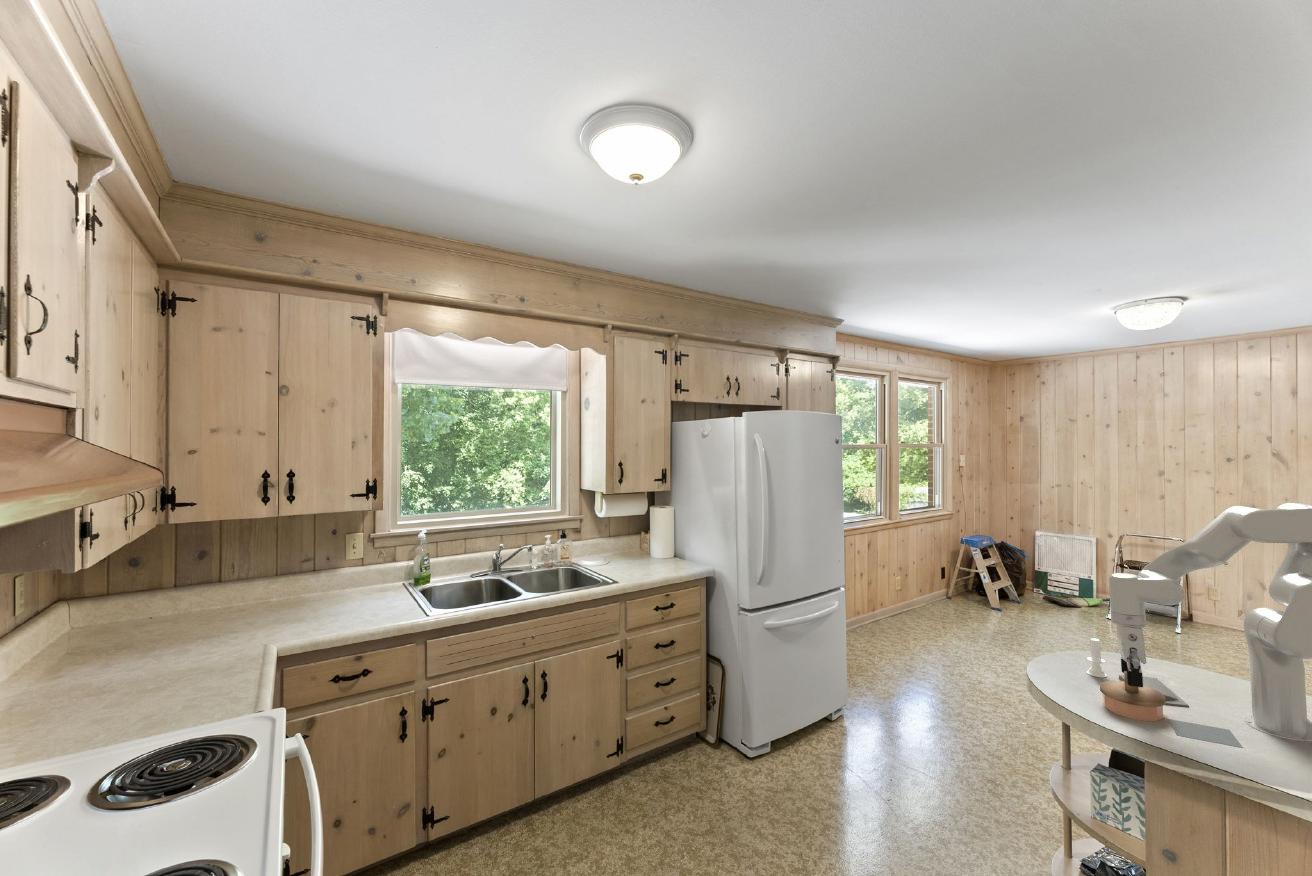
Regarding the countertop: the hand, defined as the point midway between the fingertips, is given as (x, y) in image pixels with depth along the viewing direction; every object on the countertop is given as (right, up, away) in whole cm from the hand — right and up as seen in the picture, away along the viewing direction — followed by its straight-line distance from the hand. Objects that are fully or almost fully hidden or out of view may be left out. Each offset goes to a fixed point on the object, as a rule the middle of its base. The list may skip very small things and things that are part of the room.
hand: (1132, 679), depth 155 cm
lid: (0, -5, 0) cm, 5 cm away
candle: (+11, -10, +26) cm, 30 cm away
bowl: (0, -10, 0) cm, 9 cm away
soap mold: (+16, -10, +11) cm, 22 cm away
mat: (+7, -9, -13) cm, 17 cm away
